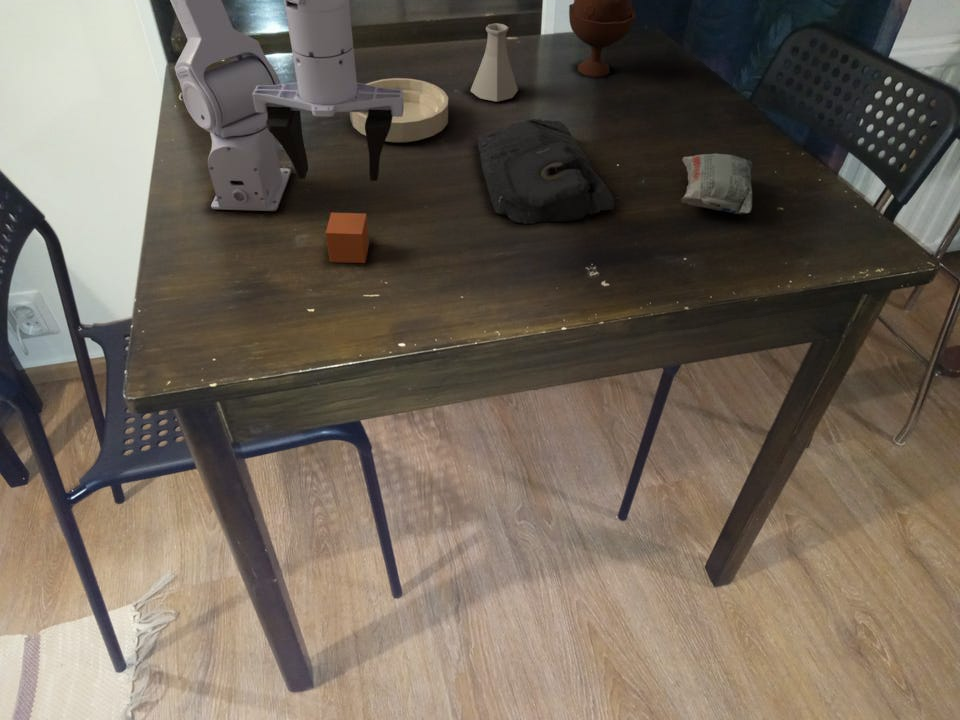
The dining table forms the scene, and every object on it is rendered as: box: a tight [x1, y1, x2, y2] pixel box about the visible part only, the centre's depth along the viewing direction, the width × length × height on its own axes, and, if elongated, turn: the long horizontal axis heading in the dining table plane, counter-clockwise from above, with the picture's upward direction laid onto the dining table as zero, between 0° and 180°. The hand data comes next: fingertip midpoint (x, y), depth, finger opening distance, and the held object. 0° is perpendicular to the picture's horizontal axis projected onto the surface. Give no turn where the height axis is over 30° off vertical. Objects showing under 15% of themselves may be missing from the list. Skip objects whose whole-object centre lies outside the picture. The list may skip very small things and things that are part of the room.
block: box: [325, 212, 370, 264], centre depth 79 cm, size 4×4×4 cm
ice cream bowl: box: [568, 0, 637, 78], centre depth 113 cm, size 11×11×15 cm
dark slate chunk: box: [477, 118, 616, 225], centre depth 92 cm, size 15×22×5 cm
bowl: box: [349, 77, 449, 143], centre depth 102 cm, size 14×14×4 cm
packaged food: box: [680, 153, 753, 215], centre depth 89 cm, size 9×12×5 cm
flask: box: [469, 22, 519, 103], centre depth 107 cm, size 7×7×10 cm
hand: (339, 175), depth 75 cm, fingers open, 7 cm apart
